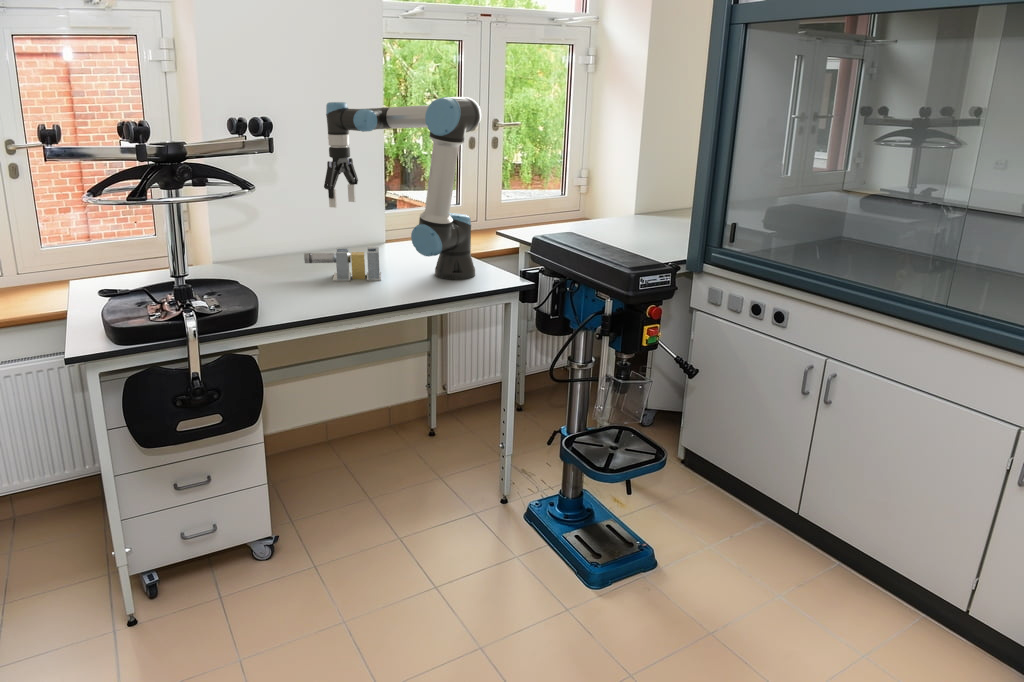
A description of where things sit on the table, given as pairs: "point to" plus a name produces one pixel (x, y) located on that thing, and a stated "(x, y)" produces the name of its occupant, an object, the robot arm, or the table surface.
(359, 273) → the spacer
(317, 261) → the shaft
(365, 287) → the table surface
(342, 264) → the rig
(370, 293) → the table surface
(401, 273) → the table surface
